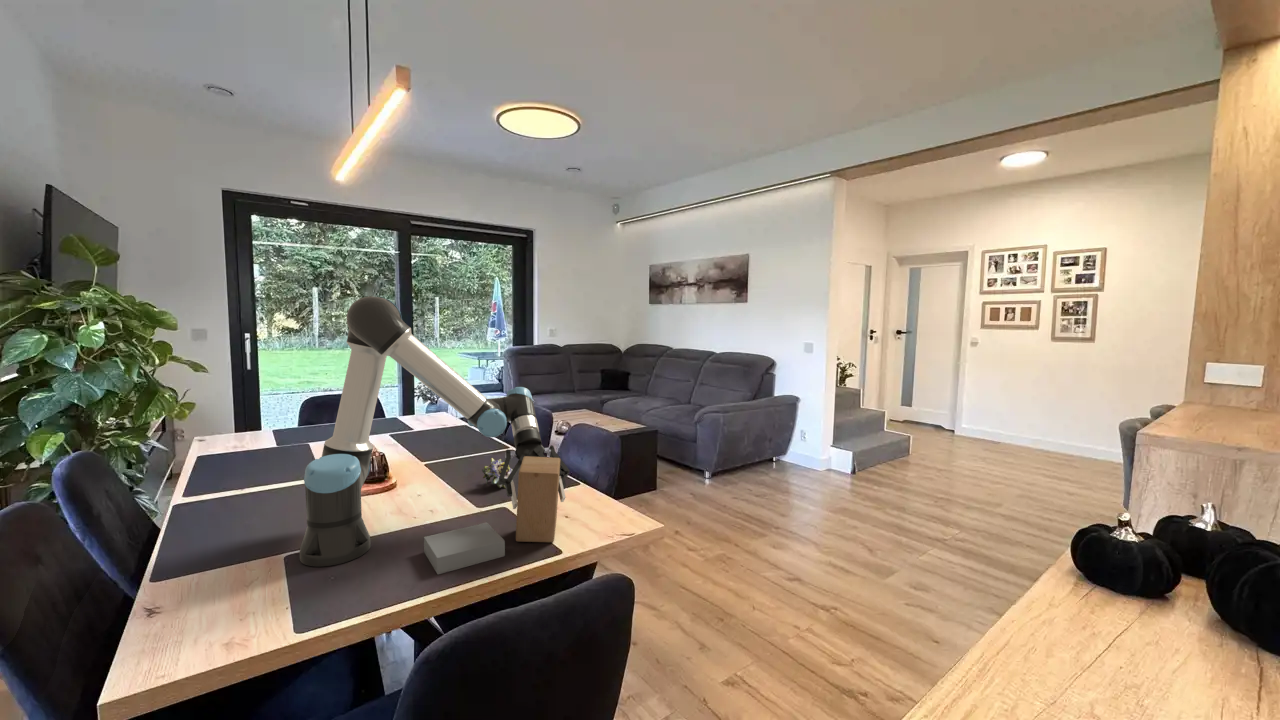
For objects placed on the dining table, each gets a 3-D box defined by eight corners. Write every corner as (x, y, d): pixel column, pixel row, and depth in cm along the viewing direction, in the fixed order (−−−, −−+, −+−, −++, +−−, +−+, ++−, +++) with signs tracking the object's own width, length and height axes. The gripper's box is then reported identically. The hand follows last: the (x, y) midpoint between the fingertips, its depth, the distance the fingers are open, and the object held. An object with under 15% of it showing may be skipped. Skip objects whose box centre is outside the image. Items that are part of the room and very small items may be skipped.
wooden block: (553, 543, 133) (558, 473, 129) (515, 542, 132) (518, 471, 128) (556, 522, 143) (560, 457, 138) (520, 521, 142) (523, 455, 137)
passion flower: (505, 503, 174) (499, 482, 166) (477, 494, 176) (470, 473, 168) (520, 477, 182) (516, 456, 174) (493, 468, 184) (488, 448, 176)
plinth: (437, 574, 116) (437, 558, 116) (424, 552, 127) (423, 536, 126) (504, 556, 126) (504, 540, 125) (487, 536, 136) (486, 522, 136)
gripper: (564, 437, 155) (579, 502, 143) (481, 445, 144) (491, 516, 132) (569, 424, 150) (586, 490, 138) (484, 431, 139) (494, 503, 127)
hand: (539, 503), depth 135 cm, fingers open, 12 cm apart
